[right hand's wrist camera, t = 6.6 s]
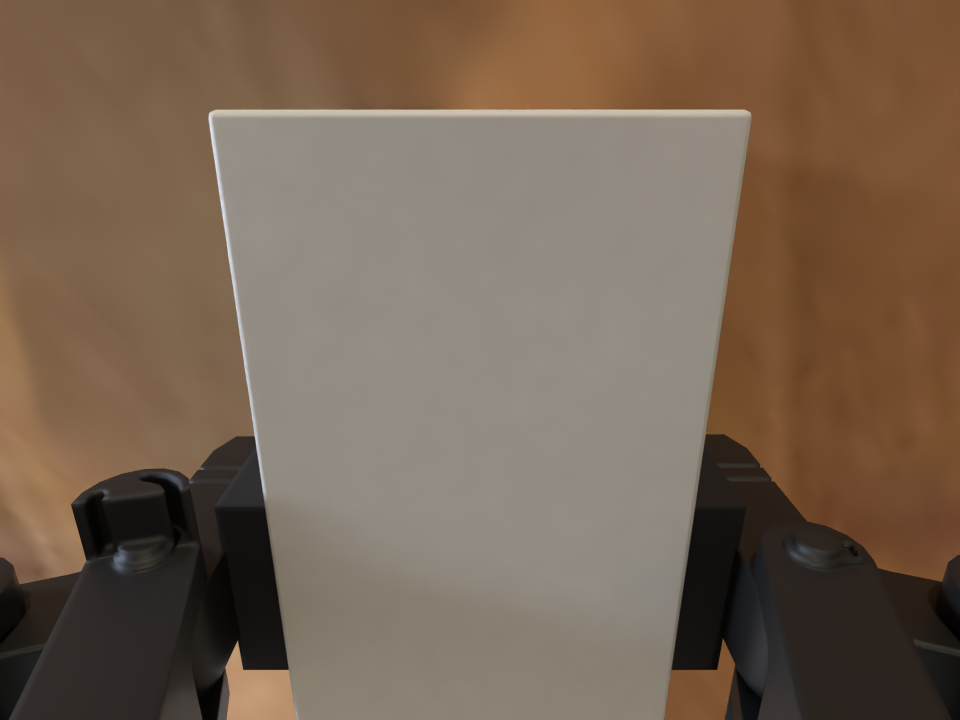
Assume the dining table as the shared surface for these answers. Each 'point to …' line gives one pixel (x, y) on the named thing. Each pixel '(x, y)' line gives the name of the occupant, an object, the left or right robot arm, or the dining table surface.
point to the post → (480, 395)
